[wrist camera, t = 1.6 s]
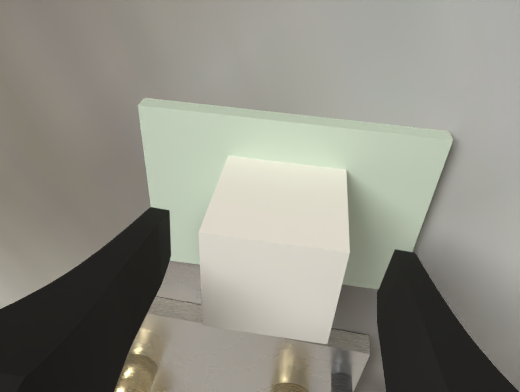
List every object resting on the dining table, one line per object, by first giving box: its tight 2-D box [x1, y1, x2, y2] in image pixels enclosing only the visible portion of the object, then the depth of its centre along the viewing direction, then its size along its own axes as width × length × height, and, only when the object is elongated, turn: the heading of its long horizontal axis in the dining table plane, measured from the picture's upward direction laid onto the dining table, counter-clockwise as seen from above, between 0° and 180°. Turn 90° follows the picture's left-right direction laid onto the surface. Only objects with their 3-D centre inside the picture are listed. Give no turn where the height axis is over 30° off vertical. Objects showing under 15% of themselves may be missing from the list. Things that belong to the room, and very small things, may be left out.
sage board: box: [138, 98, 453, 344], centre depth 14 cm, size 10×7×5 cm
